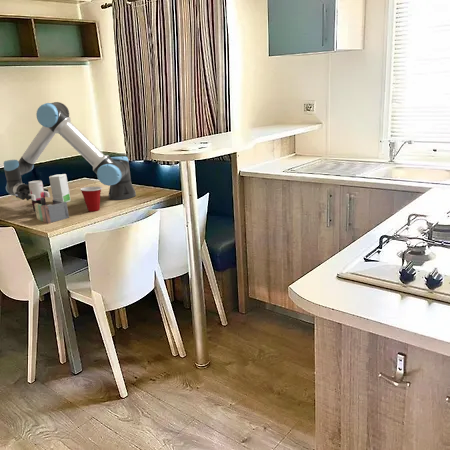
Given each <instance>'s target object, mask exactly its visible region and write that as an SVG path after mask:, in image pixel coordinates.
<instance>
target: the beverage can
mask: <svg viewBox="0 0 450 450" xmlns="http://www.w3.org/2000/svg"><path fill="white" fill-rule="evenodd" d="M28 185H29V189H30V194H33V195H35V197H36V201H34V200H31V204H32V209H33V211H34V212H35V213H36V211H35V206H34V204H36V203H38V204H41V200H40V198H44V203H45V205H47V201H46V197H45V195H44V189H45V188H44V184H43V181H42V180H41V179H39V180H32V181H28Z"/></svg>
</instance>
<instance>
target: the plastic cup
mask: <svg viewBox="0 0 450 450" xmlns="http://www.w3.org/2000/svg"><path fill="white" fill-rule="evenodd" d="M102 190H103V188H102V187H101V186H86V187H82V188H81V187H80V191H81V194H82V196H83V199H84V203H85V206H86V208H87V211H88V212H89V213H90V212H91V213H92V212H93V213H94V212H98V211H100V208H101V207H100V206H101V192H102Z"/></svg>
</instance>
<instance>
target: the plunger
mask: <svg viewBox="0 0 450 450" xmlns="http://www.w3.org/2000/svg"><path fill="white" fill-rule="evenodd" d="M40 200H41V205H44V206H50V205H52V204H51V203H50V204H46V205H45V203H44V198H40Z"/></svg>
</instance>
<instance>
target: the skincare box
mask: <svg viewBox="0 0 450 450" xmlns="http://www.w3.org/2000/svg"><path fill="white" fill-rule="evenodd" d="M48 178H49V184H50V190H51V195H52V200H53V199H57V200H60V201H64V202H67V203H68V202H71V200H72V199H71V194H70V188H69V183H68V177H67V174H66V173H62V174H54V175H50V176H48Z"/></svg>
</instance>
